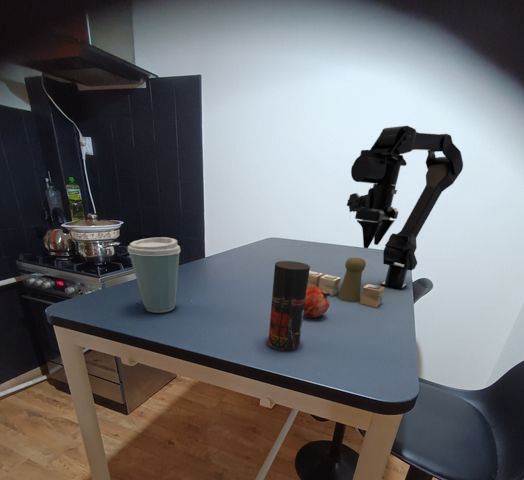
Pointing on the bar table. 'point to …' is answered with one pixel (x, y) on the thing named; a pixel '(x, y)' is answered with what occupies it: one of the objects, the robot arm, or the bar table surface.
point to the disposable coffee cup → (156, 271)
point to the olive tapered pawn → (352, 279)
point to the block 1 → (314, 279)
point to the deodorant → (288, 304)
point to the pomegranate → (316, 302)
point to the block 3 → (372, 295)
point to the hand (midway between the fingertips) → (371, 246)
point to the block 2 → (329, 284)
